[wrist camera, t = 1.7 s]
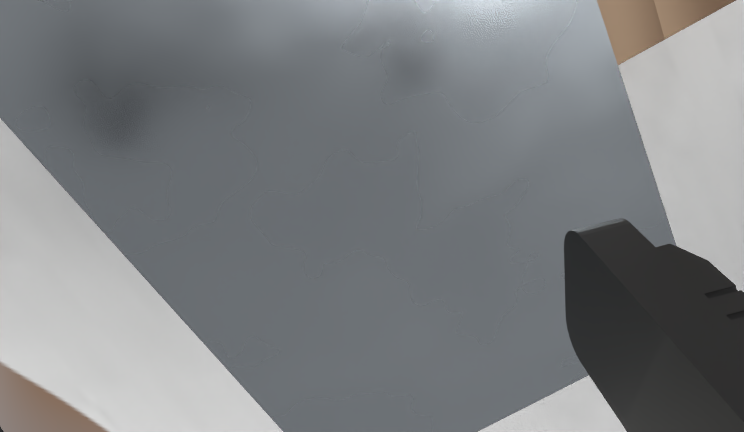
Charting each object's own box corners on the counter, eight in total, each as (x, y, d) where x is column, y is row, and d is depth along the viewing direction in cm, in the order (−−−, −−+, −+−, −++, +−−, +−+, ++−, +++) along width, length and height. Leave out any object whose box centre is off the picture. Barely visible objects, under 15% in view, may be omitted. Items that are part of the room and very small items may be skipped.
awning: (331, -255, 26) (474, -376, 10) (489, 99, 34) (699, 318, 18) (83, -101, 27) (-114, -8, 11) (295, 206, 35) (344, 499, 19)
